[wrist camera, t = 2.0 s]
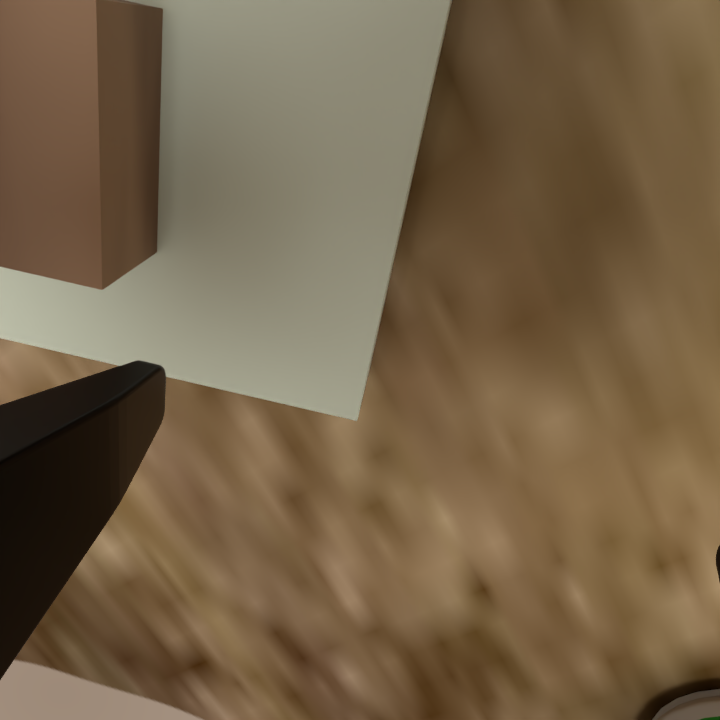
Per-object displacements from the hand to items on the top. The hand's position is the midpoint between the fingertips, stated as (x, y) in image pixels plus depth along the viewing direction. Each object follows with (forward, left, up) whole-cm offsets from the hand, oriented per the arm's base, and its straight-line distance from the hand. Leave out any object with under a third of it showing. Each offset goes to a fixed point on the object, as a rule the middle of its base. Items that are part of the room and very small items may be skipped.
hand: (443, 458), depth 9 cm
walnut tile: (+11, -2, -8) cm, 14 cm away
